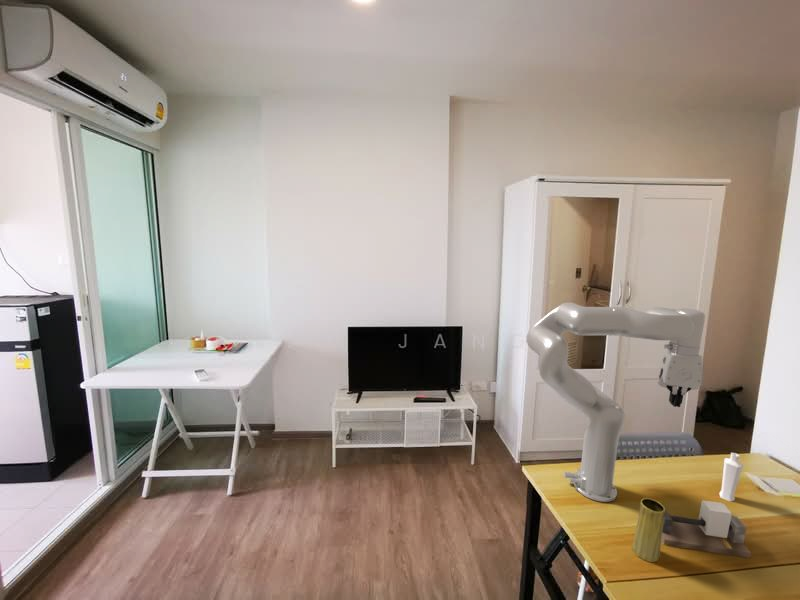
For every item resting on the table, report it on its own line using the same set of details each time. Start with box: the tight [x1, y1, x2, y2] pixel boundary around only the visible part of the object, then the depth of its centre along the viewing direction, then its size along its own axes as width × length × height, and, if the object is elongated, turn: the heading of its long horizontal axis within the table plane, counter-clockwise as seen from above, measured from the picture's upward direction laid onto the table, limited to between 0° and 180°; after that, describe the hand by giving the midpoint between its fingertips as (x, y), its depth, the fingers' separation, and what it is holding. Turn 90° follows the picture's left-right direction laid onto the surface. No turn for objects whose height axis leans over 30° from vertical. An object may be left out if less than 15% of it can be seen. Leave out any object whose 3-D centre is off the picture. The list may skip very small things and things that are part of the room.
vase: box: [631, 497, 666, 563], centre depth 99 cm, size 6×6×14 cm
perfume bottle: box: [718, 452, 744, 502], centre depth 121 cm, size 5×4×15 cm
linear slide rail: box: [661, 508, 752, 559], centre depth 106 cm, size 20×10×6 cm, turn 78°
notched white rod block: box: [698, 500, 733, 538], centre depth 104 cm, size 5×4×8 cm
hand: (674, 404), depth 121 cm, fingers closed
